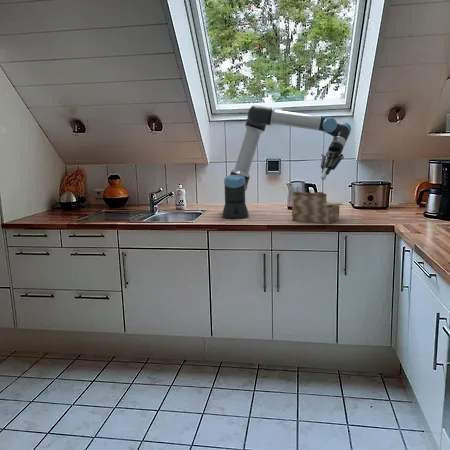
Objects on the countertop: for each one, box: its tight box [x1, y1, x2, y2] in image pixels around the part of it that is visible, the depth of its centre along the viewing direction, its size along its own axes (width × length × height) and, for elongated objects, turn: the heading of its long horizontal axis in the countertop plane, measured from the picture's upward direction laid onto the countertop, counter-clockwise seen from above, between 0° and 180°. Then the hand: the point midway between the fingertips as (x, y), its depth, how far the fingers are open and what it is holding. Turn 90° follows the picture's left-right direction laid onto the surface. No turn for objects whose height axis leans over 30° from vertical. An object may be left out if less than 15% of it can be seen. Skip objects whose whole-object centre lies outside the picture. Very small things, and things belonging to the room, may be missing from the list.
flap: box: [292, 191, 328, 208], centre depth 232 cm, size 19×1×7 cm, turn 51°
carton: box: [291, 201, 344, 225], centre depth 241 cm, size 22×19×8 cm
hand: (322, 178), depth 241 cm, fingers closed
